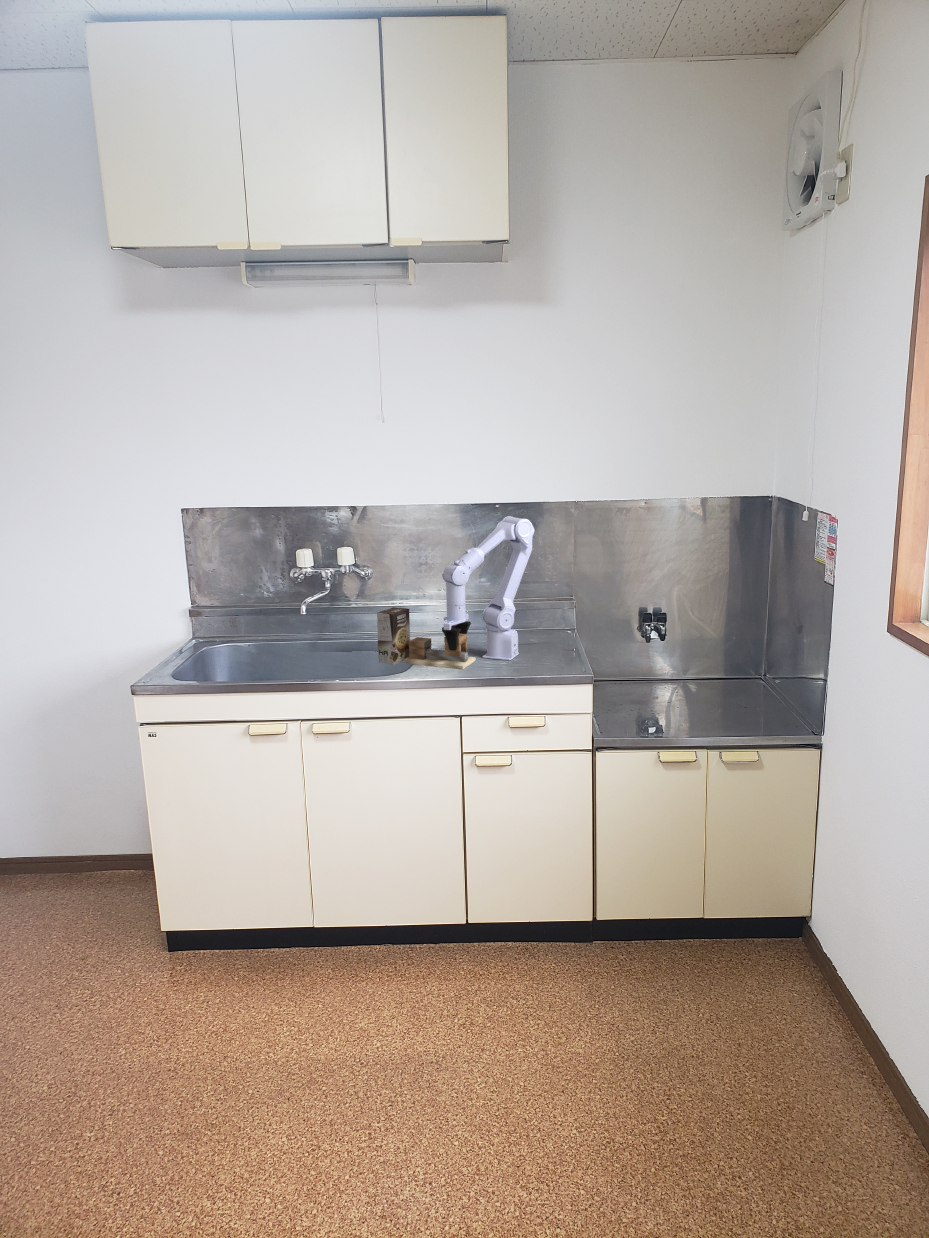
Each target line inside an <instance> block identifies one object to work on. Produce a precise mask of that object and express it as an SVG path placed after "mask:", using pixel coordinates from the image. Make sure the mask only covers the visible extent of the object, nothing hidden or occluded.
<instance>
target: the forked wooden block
mask: <svg viewBox="0 0 929 1238" xmlns="http://www.w3.org/2000/svg"><path fill="white" fill-rule="evenodd" d="M443 639H444V641H443V642H444V650H445V655H455V656H461V652H468V633H467V634H460V633H459V636H458V644H457V650H456V651H454V650H449V646H448V642H447V639H446V637H445V636H444V637H443Z"/></svg>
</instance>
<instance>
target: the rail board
mask: <svg viewBox="0 0 929 1238" xmlns="http://www.w3.org/2000/svg"><path fill="white" fill-rule="evenodd" d="M409 653H410V656H409V657H408V658H406V659H404V660H403V661H402V662H403V664H408V665H409V664H410V665H416V666H417V665H418V666H419V665H420V666H427V667H429V666H430V667H436V668H437V667H439V668H448V669H456V670H457V669H458V670H464V669H465V668H467V667H468V666H470V665H471V664H473V663H475V661H476V657H475V656H474V657H473V656H469V655H468V651H467V652H461V656H455V655H445V649H435V648H432V638H431V637H421V636H416V637H414V638H413V639H410V641H409Z"/></svg>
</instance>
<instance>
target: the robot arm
mask: <svg viewBox="0 0 929 1238" xmlns="http://www.w3.org/2000/svg"><path fill="white" fill-rule="evenodd" d="M535 531H536V530H535V527H534V526H533V524H532V522H531V521H530V520H529V519H527V518H520V517H514V516H511V515H508V516H505V517H503V518H502V519H501V521H499V522H498V523H497V524H496V527H495V528H494V529H493V530H492V531H491V532H490V533H489V534H488V535H487V536H486V537H485V538H484V539H483V540H482V542H481V543H480V544H478V546H477V547H470V548H466V549H465V550H464V552H465V553H463V554H462V555H461V556H460V557H459V558H457V559H455V560H454V563H451V564H448V565H447V566H446V567H445V568H444V570H443V573H441V576H442V577H441V578H442V579H443V580H444V582H445V587H446V588H445V590H446V591H445V592H446V616H444V617H443V621H444V622H443V626H442V627H441V631H442V633H443V635H444V637H446V639H447V642H448V646H449V650H454V651H456V650H457V644H458V636H459V633H460V634H467V635H468V631H469V629H470V626H471V625H472V622H471V621H468V620H469V616H470V615H469V613H468V612H467V613H466V611H467V610H466V583H468V581H469V579H470V575H471V574H472V573H473V572H474V571H475V570H476V569H477V568H478V567H480V566H481V565H482V564H483V563H484V562H485V561H484V560H485V556H486V555H487V554H489V552H491V551H492V550H493V549H495V548H496V547H498V545H500V543H502V542H504V541H509V543H510V545H511V547H512V549H513V550H512V553H511V555H510V557H509V559H508V560H509V561H508V564H507V566H506V569H505V572H504V574H503V576H502V577H503V578H502V580H501V583H500V584H499V587H498V589H497V592H496V593H497V594H496V596H495V597H493V598H492V599H490V601H489V603H488V605H487V606H486V607H485V608H484V610H483V611H482V617H481V618H482V620H483V622H484V623H485V625H486V653H485V654H483V655H482V658H483V659H493V660H503V661H512V660H513V659H515V658H516V657H517V656H518V655H519V654H520V652H519V634H518V631H517V630H516V629H512V627H513V625H514V622H515V612H516V607H515V605H514V600H515V597H516V594H517V592H518V589H519V587H520V584H521V581H522V579H523V575H524V573H525V570H526V567H527V564H528V562H529V558H530V556H531V555H532V551H533V537H534V534H535Z"/></svg>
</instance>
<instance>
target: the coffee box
mask: <svg viewBox="0 0 929 1238" xmlns="http://www.w3.org/2000/svg"><path fill="white" fill-rule="evenodd" d="M376 617H377V618H376V623H377V625H376V627H377V650H378V651H377V657H378V663H380V664H381V663H382V664H386V665H387V664H388V665H392V666H394V665H397V664H399V663H402V662H404V661H403V660H404V659H406V658H408V657H409V656H410V653H409V641H410V640H411V626H410V625H411V623H410V608H404V607H396V606H394V607H390V608H386V609H384V610H381V611H377V612H376Z"/></svg>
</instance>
